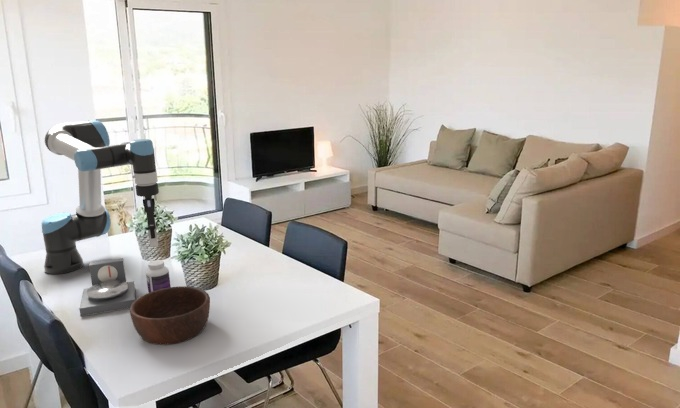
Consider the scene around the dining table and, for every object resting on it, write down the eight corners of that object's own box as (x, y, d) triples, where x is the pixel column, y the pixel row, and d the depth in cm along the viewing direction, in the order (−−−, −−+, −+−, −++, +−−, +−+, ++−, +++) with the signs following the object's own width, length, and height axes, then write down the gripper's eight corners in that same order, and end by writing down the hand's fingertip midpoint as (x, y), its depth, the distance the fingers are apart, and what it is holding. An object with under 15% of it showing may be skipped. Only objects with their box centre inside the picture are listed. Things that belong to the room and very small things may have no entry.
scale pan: (89, 289, 203) (88, 284, 202) (128, 283, 207) (127, 278, 207) (85, 304, 190) (85, 298, 189) (128, 297, 194) (127, 292, 194)
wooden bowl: (218, 311, 189) (216, 284, 187) (203, 348, 165) (200, 318, 163) (147, 313, 189) (144, 287, 186) (121, 351, 165) (117, 321, 162)
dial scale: (85, 292, 207) (80, 263, 204) (135, 285, 213) (131, 257, 210) (80, 316, 188) (75, 284, 185) (135, 307, 194) (130, 276, 191)
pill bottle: (176, 295, 203) (172, 259, 199) (163, 304, 196) (158, 267, 192) (158, 293, 206) (154, 257, 202) (144, 301, 198) (139, 265, 195)
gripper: (135, 177, 199) (142, 232, 205) (135, 192, 176) (143, 253, 182) (156, 175, 202) (162, 229, 207) (159, 190, 179) (166, 249, 184)
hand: (153, 240), depth 195 cm, fingers open, 13 cm apart
